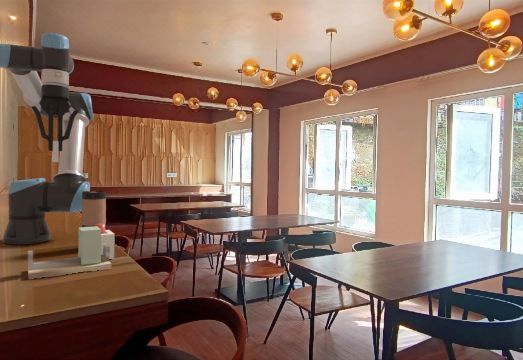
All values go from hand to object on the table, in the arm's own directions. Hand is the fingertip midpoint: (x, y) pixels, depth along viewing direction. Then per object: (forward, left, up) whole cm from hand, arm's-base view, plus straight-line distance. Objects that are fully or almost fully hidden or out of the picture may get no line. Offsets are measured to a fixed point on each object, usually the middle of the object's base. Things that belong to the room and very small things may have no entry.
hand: (55, 161), depth 116 cm
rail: (+18, +2, -30) cm, 35 cm away
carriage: (+18, +7, -28) cm, 34 cm away
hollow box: (+8, +12, -30) cm, 33 cm away
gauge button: (+8, +12, -24) cm, 28 cm away
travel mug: (-6, +12, -30) cm, 33 cm away
